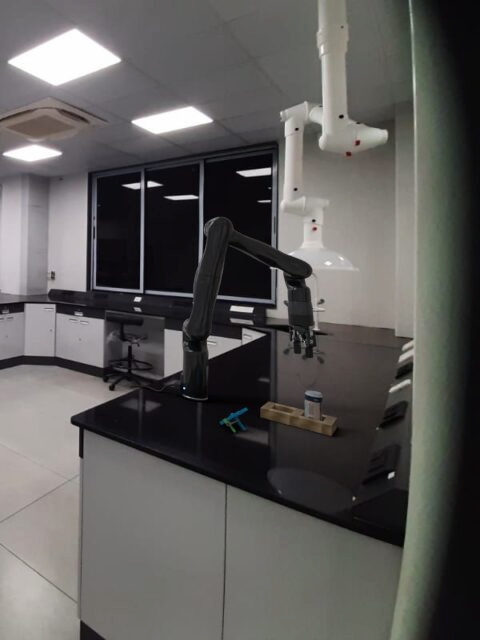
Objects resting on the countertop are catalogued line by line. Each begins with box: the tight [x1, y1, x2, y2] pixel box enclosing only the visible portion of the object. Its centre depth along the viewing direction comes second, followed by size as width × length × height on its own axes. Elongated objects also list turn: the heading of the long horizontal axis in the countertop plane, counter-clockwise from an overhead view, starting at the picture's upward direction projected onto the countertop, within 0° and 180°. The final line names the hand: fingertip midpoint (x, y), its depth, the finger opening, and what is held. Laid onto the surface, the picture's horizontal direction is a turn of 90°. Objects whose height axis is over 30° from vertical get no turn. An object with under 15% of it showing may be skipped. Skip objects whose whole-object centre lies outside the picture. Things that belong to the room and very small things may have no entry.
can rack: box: [259, 401, 338, 437], centre depth 143 cm, size 20×11×4 cm, turn 41°
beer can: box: [304, 389, 324, 421], centre depth 140 cm, size 5×5×12 cm
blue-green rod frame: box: [219, 407, 249, 433], centre depth 135 cm, size 11×6×10 cm
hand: (303, 355), depth 153 cm, fingers open, 8 cm apart
